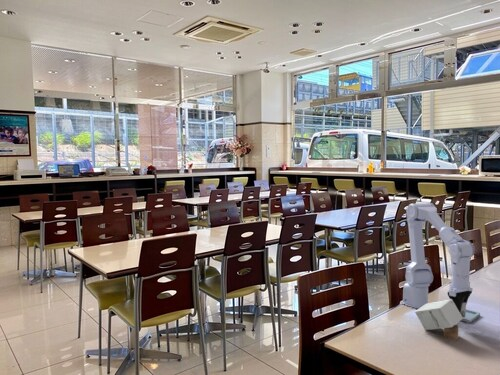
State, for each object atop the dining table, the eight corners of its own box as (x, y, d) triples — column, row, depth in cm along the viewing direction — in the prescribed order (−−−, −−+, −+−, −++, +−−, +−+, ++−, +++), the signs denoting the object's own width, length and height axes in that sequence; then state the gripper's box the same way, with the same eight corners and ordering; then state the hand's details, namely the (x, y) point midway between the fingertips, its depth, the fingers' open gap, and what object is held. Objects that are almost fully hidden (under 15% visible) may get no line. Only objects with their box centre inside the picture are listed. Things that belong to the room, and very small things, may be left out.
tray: (441, 315, 151) (441, 312, 151) (451, 308, 158) (451, 305, 158) (470, 323, 144) (470, 320, 143) (480, 315, 150) (480, 312, 150)
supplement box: (413, 311, 140) (439, 307, 129) (426, 303, 144) (452, 298, 133) (424, 330, 138) (451, 327, 128) (436, 321, 142) (464, 318, 131)
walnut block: (443, 337, 133) (443, 326, 132) (445, 333, 136) (445, 322, 136) (456, 340, 130) (456, 329, 130) (458, 336, 134) (458, 325, 133)
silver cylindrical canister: (451, 315, 139) (452, 302, 139) (454, 312, 142) (455, 299, 142) (463, 318, 136) (464, 304, 136) (466, 315, 139) (467, 301, 139)
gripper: (464, 281, 130) (463, 319, 131) (479, 272, 140) (478, 308, 141) (443, 276, 135) (442, 313, 137) (459, 268, 145) (457, 302, 146)
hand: (459, 310), depth 139 cm, fingers closed on silver cylindrical canister, 4 cm apart
